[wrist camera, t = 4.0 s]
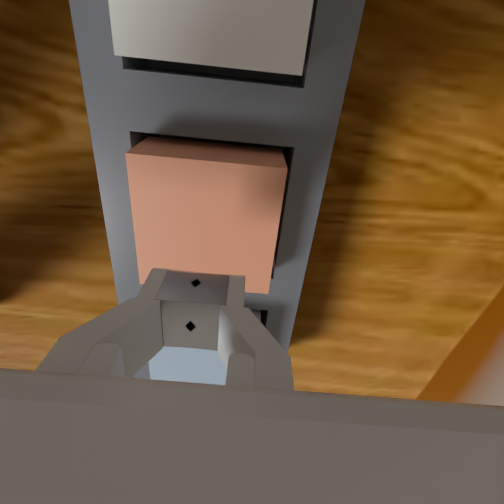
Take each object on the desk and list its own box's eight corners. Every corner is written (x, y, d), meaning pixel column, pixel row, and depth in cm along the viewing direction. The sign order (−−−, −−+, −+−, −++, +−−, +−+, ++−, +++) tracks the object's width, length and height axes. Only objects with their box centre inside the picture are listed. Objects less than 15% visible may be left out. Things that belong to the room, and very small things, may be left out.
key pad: (94, -212, 11) (11, -356, 7) (370, -172, 12) (428, -286, 8) (150, 343, 26) (132, 393, 22) (273, 351, 26) (276, 402, 22)
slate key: (159, 294, 19) (145, 331, 16) (260, 302, 19) (261, 339, 17) (164, 362, 22) (152, 402, 19) (251, 367, 22) (250, 407, 20)
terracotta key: (148, 136, 14) (125, 153, 12) (281, 149, 14) (287, 168, 12) (156, 250, 17) (139, 284, 15) (266, 259, 18) (268, 293, 15)
